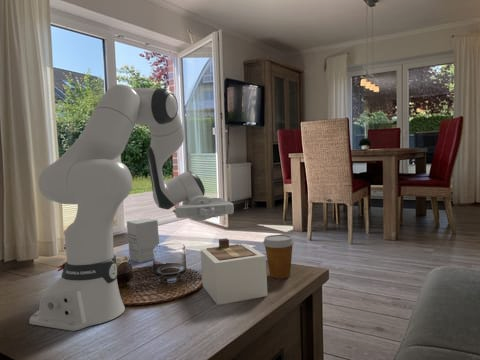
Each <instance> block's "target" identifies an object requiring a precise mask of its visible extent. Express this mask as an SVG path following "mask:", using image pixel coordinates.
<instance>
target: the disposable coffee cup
mask: <svg viewBox="0 0 480 360" xmlns="http://www.w3.org/2000/svg"><path fill="white" fill-rule="evenodd" d="M262 243H263V245H264V248H265V253H266V255H265V256H266V262H267V266H268V271H269V276H270V277H271V278H273V279H287V278H289V277H291V270H292V269H291V268H292V257H293V245H294V243H295V240H294V239H293V236H292V235H288V234H271V235H267V236H265V237H264V239H263V242H262Z"/></svg>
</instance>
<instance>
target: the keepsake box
mask: <svg viewBox="0 0 480 360" xmlns="http://www.w3.org/2000/svg"><path fill="white" fill-rule="evenodd" d="M239 245H240V246H242V247H243V248H245V249H246V250H248V251H250V252H251V253H253V254H254V255H255V256H249V257H242V258H235V259H229V260H222V261H219V260H218V259H217V258H216V257H215V256H213V255H212V254H211V253H210V252H209V251H208V250H207V249H206V248H202V249H200V260H201V262H200V263H201V279H202V288H204V290H205V291H206V292H207V294H208V295H209V296H210V298H212V300H213V301H214V303H215V304H216V305H217V306H220V305H226V304H231V303H235V302H236V303H237V302H243V301H247V300H253V299H258V298H262V297H268V278H267V255H265V254H263V253H262V252H261V251H259V250H257V249H255V248H253V247H252V246H250V245H249V244H246V243H240V244H239Z"/></svg>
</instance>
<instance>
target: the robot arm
mask: <svg viewBox="0 0 480 360" xmlns="http://www.w3.org/2000/svg"><path fill="white" fill-rule="evenodd" d="M178 111H179V104H178V99H177V97H176V96H175V94H174V93H173V92H172V91H171V90H169V89H167V88H162V87H158V88H149V87H133V88H132V87H131V86H129V85H127V84H121V83H118V84H114V85H111V87H109V88H108V89H107V90H106V91H105V93H104V94H103V95H102V96H101V98H100V99H99V101H98V103H97V104H96V106H95V108H94V110H93V112H92V114H91V116H90V117H89V119H88V121H87V123H86V125H85V127H84V129H83V131H82V132H81V134H80V135H79V136H78V138H77V139H76V140H75V141H74V142H73V143H72V144H71V145H70V147H68V149H67V150H66V151H65V152H63V154H62V155H61V156H60V157H59V158H58V159H57V160H55V161H54V162H52V163H51V164H49V165H47V166H46V167H44V168H43V170H42V171H41V172H40V174H39V176H38V177H39V178H38V187H39V191H40V193H41V195H42V196H44V198H45V199H47V200H49V201H51V202H54V203H58V204H62V205H77V210H76V215H75V218H74V221H73V222H72V223H70V224H69V225H68V226H67V228H66V229H65V231H64V241H65V252H66V254H65V255H66V261H64V263H62V264H61V265H59V266H57V272H60V271H61V277H59V279H58V280H56V281H55V282H54V283H53V284H52V285H51V286H49V288H47V289H46V290H45V291H44V292H43V294H41V297H40V299H39V305H38V306H39V310H37V311H35V312H34V313H33V314H32V315H31V316H30V318H29V321H28V323H29V324H30V325H34V326H40V327H46V328H53V329H58V330H65V331H71V332H73V331H80V330H83V329H84V328H88V327H91V326H95V325H99V324H103V323H107V322H109V321H112V320H113V319H116V318H118V317H120V316H121V315H122V314H123V313H124V312H125V310H126V308H125V307H126V306H125V305H124V302H123V300H122V297H121V294H120V289H119V284H118V265H117V256H116V255H115V250H114V248H115V247H114V223H115V218H116V215H117V212H118V209H119V207H120V205H121V204H122V203H123V202H124V200H126V199H127V198H128V196H129V195H130V194H131V190H132V188H133V187H132V186H133V177H132V174H131V171H130V169H129V168H128V166H127V165H126V164H124V163H123V162H121V161H116V160H115V159H117V158H118V157H120V156H121V155H122V154H123V152H124V151H125V148H126V146H127V144H128V142H129V139H130V137H131V134H132V133H133V129H134V128H135V125H140V126H147V128H148V131H149V134H150V139H151V140H150V145H149V146H148V148H147V149H146V158H147V165H148V170H149V177H150V181H151V189H152V198H153V200H154V203H155V205H156V206H157V207H158V208H160V209H162V210H170V209H171V208H173V207H175V209H172V213H175V218H177V219H186V218H188V219H189V218H192V219H193V220H195V221H199V222H203V221H207V220H209V219H212V218H216V217H217V218H218V217H222V216H225V215H233V214H234V212H235V211H234V210H235V209H234V203H233V202H231V201H228V200H224V198H222V197H207V196H205V195H206V194H205V193H206V192H205V191H206V190H205V186H204V184H203V182H202V180H201V178H200V177H199V176H198V175H197V174H196V173H194V172H193V171H190V170H187V171H185V172H182V173H180V174H178V175H176V176H174V177H172V178H170V179H167V180H165V179H164V174H163V173H164V172H163V166H164V164H165V163H166V162H167V160H168V159H169V158H170V157H172V155H174V154H175V153H176V152H177V151H178V150H179V149H180V148H181V147H182V145H183V142H184V140H185V130H184V126H183V123H182V121H181V118H180V115H179V113H178ZM180 203H182V204H181V205H179V204H180Z"/></svg>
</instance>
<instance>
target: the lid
mask: <svg viewBox="0 0 480 360" xmlns="http://www.w3.org/2000/svg"><path fill="white" fill-rule="evenodd" d="M205 249H207V250H208V251H209V252H210V253H211V254H212V255H213V256H215V257H216V258H217V259H218V260H219V261H222V260H229V259H235V258H242V257H249V256H255V255H254V254H253V253H251V252H250V251H248V250H246V249H245V248H243V247H242V246H240V244H239V243H238V244H237V243H236V244H230V239H228V238H227V237H226V238H219V239H218V246H215V247H207V248H205Z"/></svg>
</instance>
